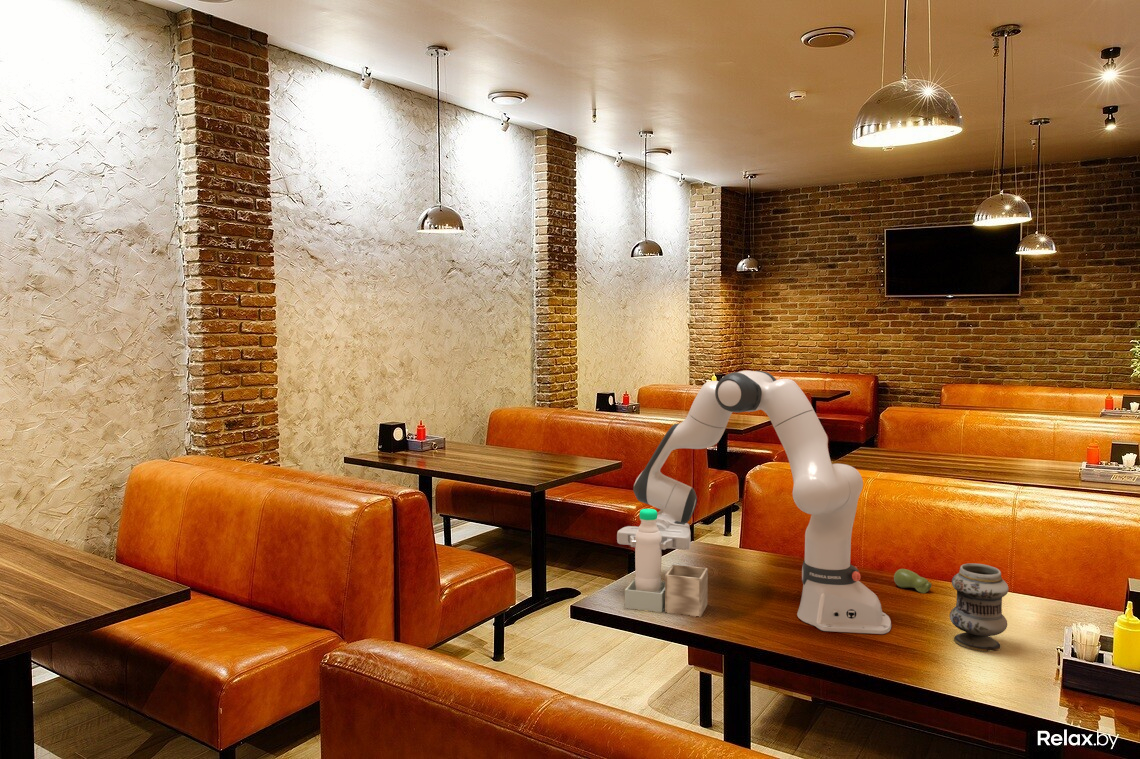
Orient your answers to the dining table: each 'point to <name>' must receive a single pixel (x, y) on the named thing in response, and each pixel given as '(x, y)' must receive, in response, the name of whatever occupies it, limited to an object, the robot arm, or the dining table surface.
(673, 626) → the dining table surface
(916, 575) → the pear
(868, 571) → the dining table surface
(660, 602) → the bottle caddy
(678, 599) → the birch sleeve
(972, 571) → the apothecary jar
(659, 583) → the water bottle
